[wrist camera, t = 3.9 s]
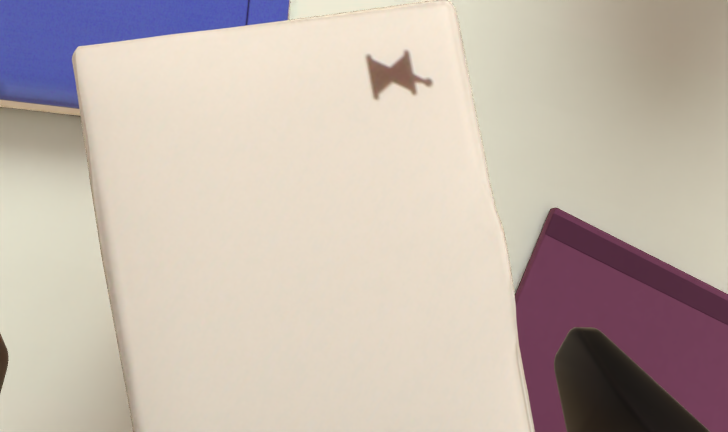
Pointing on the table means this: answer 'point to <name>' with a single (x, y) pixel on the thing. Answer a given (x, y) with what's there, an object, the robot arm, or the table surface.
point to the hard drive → (98, 38)
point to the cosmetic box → (302, 228)
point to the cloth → (620, 319)
